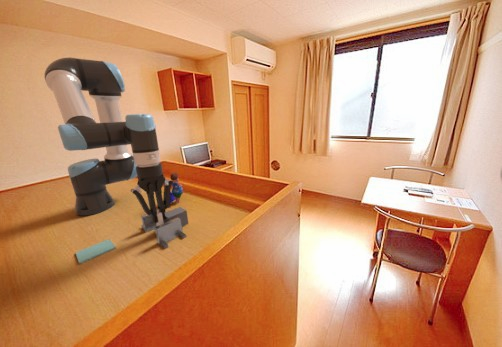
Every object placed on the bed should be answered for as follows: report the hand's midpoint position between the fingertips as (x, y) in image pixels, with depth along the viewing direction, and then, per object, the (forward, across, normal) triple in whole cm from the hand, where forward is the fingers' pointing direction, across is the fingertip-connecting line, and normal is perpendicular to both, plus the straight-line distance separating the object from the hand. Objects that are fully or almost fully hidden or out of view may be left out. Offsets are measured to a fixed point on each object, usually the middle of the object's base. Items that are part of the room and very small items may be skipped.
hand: (161, 228), depth 70 cm
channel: (+2, 0, 0) cm, 2 cm away
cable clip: (+2, +17, +26) cm, 31 cm away
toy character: (+2, +17, +19) cm, 26 cm away
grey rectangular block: (+2, +6, 0) cm, 6 cm away
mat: (+2, -18, +6) cm, 19 cm away
